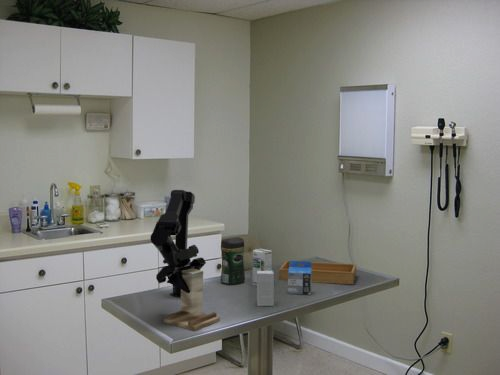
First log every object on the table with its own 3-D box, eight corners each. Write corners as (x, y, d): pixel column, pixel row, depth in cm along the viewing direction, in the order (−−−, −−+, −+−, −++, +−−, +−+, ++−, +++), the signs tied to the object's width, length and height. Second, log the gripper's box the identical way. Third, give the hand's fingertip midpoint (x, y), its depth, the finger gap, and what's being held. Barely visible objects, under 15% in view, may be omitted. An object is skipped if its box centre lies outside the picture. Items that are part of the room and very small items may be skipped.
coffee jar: (236, 278, 246) (236, 235, 244) (247, 282, 239) (248, 238, 237) (217, 282, 240) (217, 237, 238) (228, 286, 233) (228, 240, 232)
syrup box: (251, 285, 235) (251, 250, 234) (261, 282, 239) (261, 247, 238) (262, 288, 231) (262, 252, 230) (272, 285, 236) (272, 249, 234)
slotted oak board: (163, 321, 190) (163, 314, 190) (188, 312, 200) (188, 305, 200) (195, 331, 182) (195, 323, 182) (219, 321, 192) (219, 313, 191)
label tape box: (287, 294, 223) (287, 262, 222) (288, 291, 227) (289, 260, 226) (310, 295, 222) (311, 263, 221) (311, 292, 226) (311, 261, 224)
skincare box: (273, 302, 212) (273, 270, 211) (273, 306, 208) (274, 273, 207) (256, 302, 212) (256, 270, 211) (256, 306, 208) (257, 273, 206)
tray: (279, 281, 244) (279, 267, 243) (285, 272, 258) (286, 259, 258) (353, 286, 236) (353, 272, 236) (356, 277, 251) (356, 264, 250)
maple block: (180, 310, 190) (181, 270, 189) (191, 306, 194) (192, 268, 193) (191, 313, 187) (192, 273, 186) (202, 309, 191) (203, 270, 190)
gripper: (162, 242, 183) (187, 282, 178) (201, 233, 198) (226, 270, 192) (145, 263, 189) (169, 302, 183) (185, 253, 204) (208, 289, 198)
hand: (194, 290), depth 189 cm, fingers closed on maple block, 5 cm apart
